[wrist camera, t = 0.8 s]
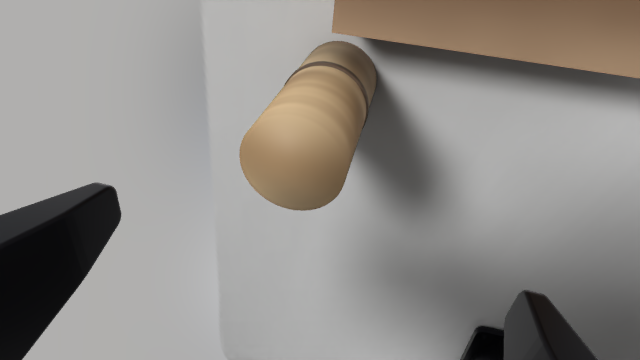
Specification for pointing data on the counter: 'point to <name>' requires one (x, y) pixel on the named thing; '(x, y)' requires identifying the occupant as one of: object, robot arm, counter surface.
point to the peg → (311, 129)
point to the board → (507, 29)
